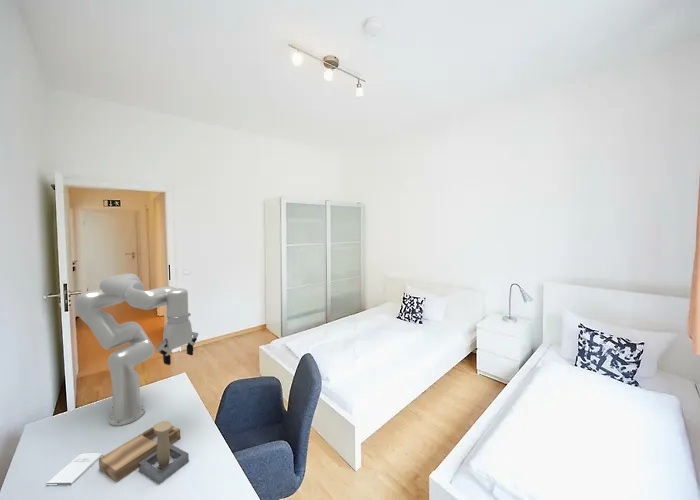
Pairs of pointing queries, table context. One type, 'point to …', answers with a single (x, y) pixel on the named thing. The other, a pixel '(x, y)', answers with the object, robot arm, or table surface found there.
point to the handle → (163, 442)
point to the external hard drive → (75, 469)
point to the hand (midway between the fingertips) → (179, 359)
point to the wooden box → (132, 454)
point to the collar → (160, 476)
